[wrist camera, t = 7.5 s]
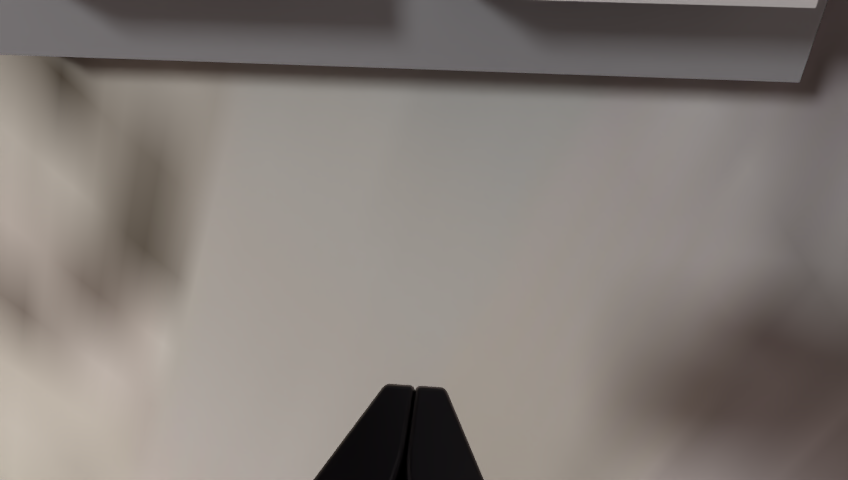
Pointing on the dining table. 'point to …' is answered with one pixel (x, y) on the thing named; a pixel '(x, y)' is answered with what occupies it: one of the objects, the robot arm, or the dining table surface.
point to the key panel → (434, 34)
